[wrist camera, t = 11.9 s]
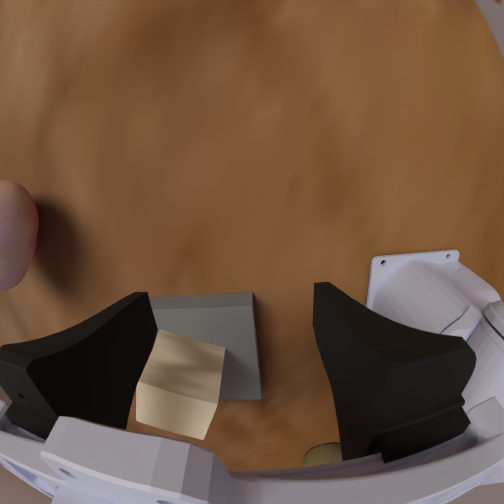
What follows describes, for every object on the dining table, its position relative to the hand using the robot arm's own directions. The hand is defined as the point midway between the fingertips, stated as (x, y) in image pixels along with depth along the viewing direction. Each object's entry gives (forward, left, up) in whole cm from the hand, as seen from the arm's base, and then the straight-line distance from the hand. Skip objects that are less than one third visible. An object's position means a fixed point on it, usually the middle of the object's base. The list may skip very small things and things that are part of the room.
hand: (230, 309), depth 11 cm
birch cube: (+6, +10, -8) cm, 14 cm away
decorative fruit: (+20, -4, -10) cm, 23 cm away
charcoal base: (+5, +10, -10) cm, 15 cm away
